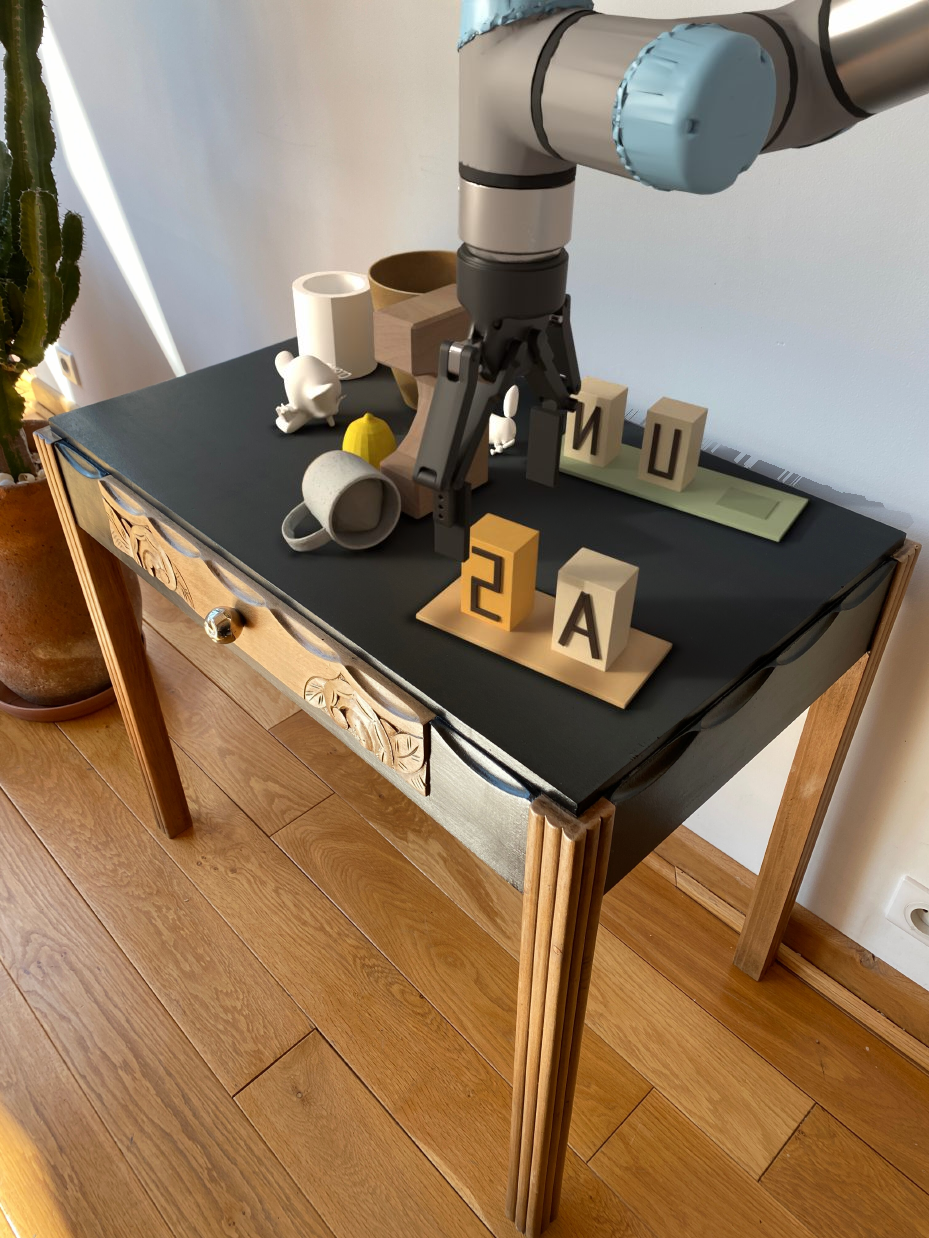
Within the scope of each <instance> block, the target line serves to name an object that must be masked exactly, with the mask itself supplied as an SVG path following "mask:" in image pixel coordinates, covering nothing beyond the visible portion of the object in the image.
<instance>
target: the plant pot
mask: <svg viewBox="0 0 929 1238" xmlns="http://www.w3.org/2000/svg"><path fill="white" fill-rule="evenodd" d="M366 275H367V276H368V280H369V285H370V291H371V296H372V300H373V305H374V310H375V311H376V310H378V309H381V308H384V307H387V306H390V305H393V304H396V303H399V302H402V301H405V300H407V299H410V298H413V297H416V296H419V295H422V294H425V293H428V292H431V291H433V290H436V289H439V288H442V287H445V286H448V285H451V284H456V279H457V250H456V251H455V250H446V249H444V250H443V249H420V250H418V249H417V250H410V251H403V252H398V253H394V254H389V255H387V256H384V257H382V258H380V259H378V260H376V261H374V262H373V263H372V264H370V265H369V267H368V269H367V274H366ZM390 368H391V367H390ZM391 372H392V374H393V377H394V379H395V381H396V384H397V386H398V389H399V392H400V393H401V395H402V398H403V400H404V402H405V404H406V405H407V406H408V407H409V408H411V409H413V410H415V411H417V409H418V399H419V393H418V387H417V380H416V379H415V378H414V377H413V376H411V375H408V374H406V373H403V372H401V371H398V370H396V369H394V368H391Z"/></svg>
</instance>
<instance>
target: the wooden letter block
mask: <svg viewBox="0 0 929 1238" xmlns="http://www.w3.org/2000/svg"><path fill="white" fill-rule="evenodd" d="M628 394H629V387H628V386H626V385H622V384H618V383H614V382H611V381H608V380H603V379H599V378H597V377H593V376H589V375H587V376H585V377H583V378H581V389H580V392H579V394H578V395H573V394H571V396H570V397H572V398H575V399H578V407H577V410H576V411H575V412H574V413H570V412H567V415H566V427H565V433H566V436H565V447H564V456H567V457H570V458H573V459H576V460H579V461H582V462H586V463H589V464H592V465H595V466H598V467H601V468H604V467H605V466H607V465H608V464H609V463H610V462H611V461H612V460H613V459H615V458H616V457H617V456H618V455H619V454H620V448H621V443H622V439H623V432H624V426H625V425H624V424H625V416H626V415H625V414H626V409H627V402H628V401H627V400H628Z"/></svg>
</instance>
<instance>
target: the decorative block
mask: <svg viewBox="0 0 929 1238" xmlns="http://www.w3.org/2000/svg"><path fill="white" fill-rule="evenodd" d="M470 322H471V318H470V315H469V313H468V312H467V311H466V309H465V308H464V307H463V306H462V305H461V304H460V303H459V301H458V299H457V295H456V284H451V285H448V286H445V287H442V288H439V289H436V290H433V291H431V292H428V293H425V294H422V295H419V296H416V297H413V298H410V299H407V300H405V301H402V302H399V303H396V304H393V305H390V306H387V307H384V308H381V309H378V310H376V311H375V312H374V313H373V324H374V347H375V360H376V361H377V363H378V364H381V365H383V366H386V367H388V368H394V369H396V370H398V371H401V372H403V373H406V374H408V375H411V376H413V377H414V378H415V379H416V380H417V387H418V393H419V399H418V409H417V410H416V414H415V416H414V419H413V421H412V424H411V426H410V428H409V430H408V433H407V434H406V436H405V437H404V438H403V440H402V441H401V443H400V444H399V445H398V447H397V448H396V451H395V452H393V453H392V454H391V455H389V456H388V457H386V458H385V459H384V460H382V461H381V462H380V472H381V473H382V474H384V475H385V476H386V477H388V478H389V479H390V480H392V481H393V483H394V484H395V485H396V487H397V489H398V491H399V494H400V497H401V512H402V513H404V514H406V515H407V516H410V517H412V518H414V519H415V520H420V519H421V518H423V517H425V516H427V515H428V514H431V513H433V489H430V488H428V487H425V486H422V485H420V484H417V483H414V482H413V481H412V474H413V470H414V466H415V462H416V458H417V454H418V450H419V447H420V443H421V439H422V435H423V431H424V427H425V423H426V420H427V416H428V412H429V408H430V404H431V400H432V396H433V393H434V389H435V385H436V381H437V377H438V369H439V354H440V346H441V344H442V342H443V341H444V340H445V339H448V340H452V341H456V342H462V341H465V340H467V336H468V332H469V328H470ZM478 381H481V382H485V383H488V384H492V383H491V382H487V381H485V380H483V379H482V378H481V377H480V375H479V373H478ZM489 429H490V419H489V422H488V424H487V427H486V429H485V431H484V434H483V436H482V439H481V441H480V444H479V446H478V449H477V451H476V454H475V456H474V459H473V461H472V464H471V466H470V469H469V471H468V474H467V476H466V479H465V481H466V482H469V483H472V486H471V491H472V490H475V489H476V488H478V487H480V486H481V485H483V484H485V483H487V482H488V481H489V458H490V457H489V455H490V453H489V452H490V444H489Z"/></svg>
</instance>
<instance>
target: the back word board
mask: <svg viewBox="0 0 929 1238" xmlns="http://www.w3.org/2000/svg"><path fill="white" fill-rule="evenodd" d="M565 436H566V432H564V434H562V444H561V455H560V465H559V472H561V473H564V474H567V475H570V476H573V477H577V478H578V479H579V478H580V479H582V480H585V481H589V482H592V483H595V484H598V485H601V486H603V487H607V488H610V489H612V490H613V489H614V490H617V491H619V492H622V493H626V494H629V495H632V496H636V497H638V498H642V499H644V500H647V501H651V502H652V503H653V502H654V503H657V504H660V505H662V506H666V507H669V508H672V509H675V510H678V511H681V512H685V513H687V514H691V515H693V516H697V517H699V518H703V519H706V520H710V521H713V522H716V523H719V524H721V525H724V526H728V527H731V528H734V529H737V530H740V531H743V532H746V533H749V534H753V535H755V536H758V537H762V538H765V539H768V540H771V541H774V542H777V543H780V541H781V540H782V539H783V537H784V536H785V535H786V533H788V530H789V529H790V527H792V525H793V524H794V522H795V521H796V519H798V517H799V516H800V514H801V513H802V511H804V509H805V507H806V506H807V505H808V503H809V498H805V497H802V496H799V495H795V494H792V493H789V492H785V491H783V490H780V489H775V488H772V487H769V486H765V485H762V484H758V483H755V482H753V481H749V480H745V479H743V478H739V477H736V476H732V475H728V474H725V473H721V472H718V471H716V470H712V469H708V468H705V467H702V466H697V471H696V476H695V478H694V479H693V480H692V481H691V482H690V483H689V484H688V485H687V486H686V487H685V488H684V489H683V490H682V491H681V492H677V491H674V490H671V489H668V488H665V487H661V486H658V485H655V484H652V483H649V482H646V481H642V480H639V479H637V478H638V471H639V464H640V457H641V450H642V448H638V447H635V446H631V445H629V444H625V443H622V442H621V448H620V454H619V455H618V456H617V457H616V458H615V459H613V460H612V461H611V462H610V463H609V464H608V465H607V466H605V467H604V468H601V467H598V466H595V465H592V464H589V463H586V462H582V461H579V460H576V459H573V458H570V457H567V456H564V447H565Z"/></svg>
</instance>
